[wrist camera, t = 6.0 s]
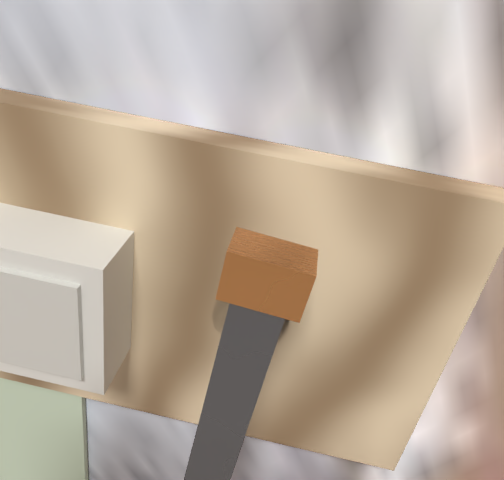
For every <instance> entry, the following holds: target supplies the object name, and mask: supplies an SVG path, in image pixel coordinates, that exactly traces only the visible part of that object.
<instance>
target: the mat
mask: <svg viewBox="0 0 504 480" xmlns="http://www.w3.org/2000/svg"><path fill="white" fill-rule="evenodd" d="M0 480H88V455H87V429H86V403H85V398H84V397H80V396H76V395H72V394H67V393H63V392H59V391H55V390H50V389H46V388H42V387H38V386H34V385H29V384H25V383H21V382H17V381H12V380H8V379H4V378H0Z"/></svg>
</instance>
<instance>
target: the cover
mask: <svg viewBox="0 0 504 480" xmlns="http://www.w3.org/2000/svg"><path fill="white" fill-rule="evenodd" d="M133 254H134V231H131V230H126V229H122V228H117V227H112V226H108V225H103V224H98V223H94V222H89V221H84V220H79V219H75V218H70V217H65V216H61V215H56V214H51V213H47V212H42V211H37V210H33V209H28V208H23V207H18V206H14V205H9V204H4V203H0V371H3V372H8V373H12V374H16V375H20V376H25V377H29V378H33V379H37V380H42V381H46V382H50V383H54V384H59V385H63V386H67V387H71V388H76V389H80V390H84V391H88V392H93V393H97V394H101V395H104V394H105V393H106V391H107V389H108V387H109V385H110V384H111V382H112V380H113V378H114V376H115V375H116V373H117V371H118V369H119V368H120V366H121V364H122V362H123V360H124V359H125V357H126V355H127V353H128V351H129V350H130V348H131V322H132V288H133Z"/></svg>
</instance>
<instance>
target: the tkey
mask: <svg viewBox="0 0 504 480" xmlns="http://www.w3.org/2000/svg"><path fill="white" fill-rule="evenodd" d="M317 262H318V249H315V248H311V247H308V246H304V245H300V244H297V243H293V242H290V241H286V240H283V239H279V238H275V237H272V236H268V235H265V234H261V233H258V232H254V231H250V230H247V229H243V228H240V227H236V229H235V232H234V234H233V237H232V239H231V242H230V244H229V247H228V249H227V252H226V256H225V260H224V265H223V269H222V273H221V277H220V281H219V286H218V290H217V294H216V298H215V299H216V300H220V301H223V302H227V303H229V307H228V311H227V315H226V318H225V322H224V326H223V330H222V334H221V338H220V342H219V346H218V350H217V353H216V357H215V361H214V365H213V369H212V373H211V377H210V381H209V384H208V388H207V392H206V396H205V400H204V404H203V408H202V412H201V415H200V419H199V423H198V427H197V431H196V435H195V439H194V443H193V446H192V450H191V454H190V458H189V462H188V466H187V470H186V474H185V477H184V480H230V478H231V476H232V473H233V470H234V467H235V464H236V461H237V458H238V455H239V452H240V449H241V446H242V443H243V440H244V438H245V435H246V432H247V429H248V426H249V423H250V420H251V417H252V414H253V411H254V408H255V405H256V402H257V400H258V397H259V394H260V391H261V388H262V385H263V382H264V379H265V376H266V373H267V370H268V367H269V364H270V362H271V359H272V356H273V353H274V350H275V347H276V344H277V341H278V338H279V335H280V332H281V329H282V326H283V324H284V321H285V319H287V320H290V321H294V322H298V323H300V320H301V318H302V315H303V312H304V310H305V307H306V304H307V301H308V299H309V296H310V293H311V290H312V288H313V285H314V282H315V279H316V277H317Z"/></svg>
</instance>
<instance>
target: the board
mask: <svg viewBox="0 0 504 480" xmlns="http://www.w3.org/2000/svg"><path fill="white" fill-rule="evenodd" d="M0 203H4V204H9V205H14V206H18V207H23V208H28V209H33V210H37V211H42V212H47V213H51V214H56V215H61V216H65V217H70V218H75V219H79V220H84V221H89V222H94V223H98V224H103V225H108V226H112V227H117V228H122V229H126V230H131V231H134V254H133V288H132V322H131V348H130V350H129V351H128V353H127V355H126V357H125V359H124V360H123V362H122V364H121V366H120V368H119V369H118V371H117V373H116V375H115V376H114V378H113V380H112V382H111V384H110V385H109V387H108V389H107V391H106V393H105V394H104V395H101V394H97V393H93V392H88V391H84V390H80V389H76V388H71V387H67V386H63V385H59V384H54V383H50V382H46V381H42V380H37V379H33V378H29V377H25V376H20V375H16V374H12V373H8V372H3V371H0V378H4V379H8V380H12V381H17V382H21V383H25V384H29V385H34V386H38V387H42V388H46V389H50V390H55V391H59V392H63V393H67V394H72V395H76V396H80V397H84V398H89V399H93V400H97V401H101V402H105V403H110V404H114V405H118V406H122V407H127V408H131V409H135V410H139V411H144V412H148V413H152V414H156V415H160V416H165V417H169V418H173V419H177V420H182V421H186V422H190V423H194V424H198V423H199V419H200V415H201V412H202V408H203V404H204V400H205V396H206V392H207V388H208V384H209V381H210V377H211V373H212V369H213V365H214V361H215V357H216V353H217V350H218V346H219V342H220V338H221V334H222V330H223V326H224V322H225V318H226V315H227V311H228V307H229V303H227V302H223V301H220V300H216V299H215V298H216V294H217V290H218V286H219V281H220V277H221V273H222V269H223V265H224V260H225V256H226V252H227V249H228V247H229V244H230V242H231V239H232V237H233V234H234V232H235V229H236V227H240V228H243V229H247V230H250V231H254V232H258V233H261V234H265V235H268V236H272V237H275V238H279V239H283V240H286V241H290V242H293V243H297V244H300V245H304V246H308V247H311V248H315V249H318V262H317V277H316V279H315V282H314V285H313V288H312V290H311V293H310V296H309V299H308V301H307V304H306V307H305V310H304V312H303V315H302V318H301V320H300V323H298V322H294V321H290V320H287V319H285V321H284V324H283V326H282V329H281V332H280V335H279V338H278V341H277V344H276V347H275V350H274V353H273V356H272V359H271V362H270V364H269V367H268V370H267V373H266V376H265V379H264V382H263V385H262V388H261V391H260V394H259V397H258V400H257V402H256V405H255V408H254V411H253V414H252V417H251V420H250V423H249V426H248V429H247V432H246V435H245V436H249V437H254V438H258V439H262V440H266V441H270V442H275V443H279V444H283V445H287V446H292V447H296V448H300V449H304V450H309V451H313V452H317V453H321V454H325V455H330V456H334V457H338V458H342V459H347V460H351V461H355V462H359V463H364V464H368V465H372V466H376V467H380V468H385V469H389V470H393V471H394V469H395V467H396V465H397V463H398V461H399V459H400V457H401V455H402V453H403V451H404V449H405V447H406V445H407V443H408V441H409V439H410V437H411V435H412V433H413V431H414V429H415V427H416V425H417V422H418V420H419V418H420V416H421V414H422V412H423V410H424V408H425V406H426V404H427V402H428V400H429V398H430V396H431V394H432V392H433V390H434V388H435V386H436V384H437V382H438V380H439V378H440V376H441V374H442V372H443V370H444V367H445V365H446V363H447V361H448V359H449V357H450V355H451V353H452V351H453V349H454V347H455V345H456V343H457V341H458V339H459V337H460V335H461V333H462V331H463V329H464V327H465V325H466V323H467V321H468V319H469V317H470V314H471V312H472V310H473V308H474V306H475V304H476V302H477V300H478V298H479V296H480V294H481V292H482V290H483V288H484V286H485V284H486V282H487V280H488V278H489V276H490V274H491V272H492V270H493V268H494V266H495V264H496V261H497V259H498V257H499V255H500V253H501V251H502V249H503V247H504V188H501V187H496V186H491V185H486V184H481V183H476V182H471V181H466V180H461V179H456V178H450V177H445V176H440V175H435V174H430V173H425V172H420V171H415V170H410V169H405V168H400V167H395V166H390V165H385V164H380V163H375V162H370V161H365V160H360V159H354V158H349V157H344V156H339V155H334V154H329V153H324V152H319V151H314V150H309V149H304V148H299V147H294V146H289V145H284V144H279V143H274V142H269V141H263V140H258V139H253V138H248V137H243V136H238V135H233V134H228V133H223V132H218V131H213V130H208V129H203V128H198V127H193V126H188V125H183V124H178V123H173V122H167V121H162V120H157V119H152V118H147V117H142V116H137V115H132V114H127V113H122V112H117V111H112V110H107V109H102V108H97V107H92V106H87V105H82V104H77V103H71V102H66V101H61V100H56V99H51V98H46V97H41V96H36V95H31V94H26V93H21V92H16V91H11V90H6V89H1V88H0Z"/></svg>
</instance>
